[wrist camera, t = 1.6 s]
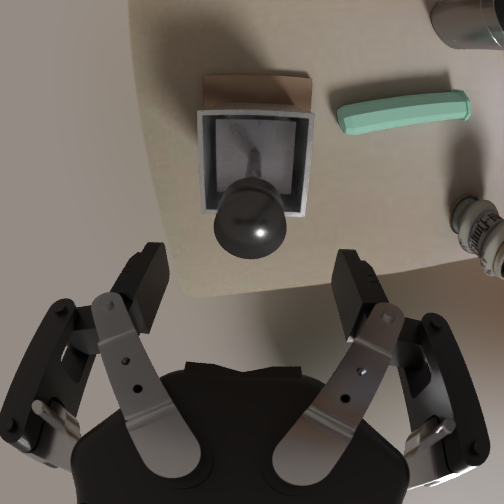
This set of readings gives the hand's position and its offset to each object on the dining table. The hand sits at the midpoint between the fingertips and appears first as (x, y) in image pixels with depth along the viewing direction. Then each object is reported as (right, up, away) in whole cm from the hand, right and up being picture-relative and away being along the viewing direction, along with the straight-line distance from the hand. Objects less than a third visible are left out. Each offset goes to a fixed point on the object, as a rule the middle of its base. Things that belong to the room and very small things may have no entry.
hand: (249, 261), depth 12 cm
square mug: (+1, +17, +27) cm, 32 cm away
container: (+25, +25, +23) cm, 42 cm away
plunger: (0, +11, +17) cm, 20 cm away
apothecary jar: (+47, +9, +33) cm, 58 cm away
